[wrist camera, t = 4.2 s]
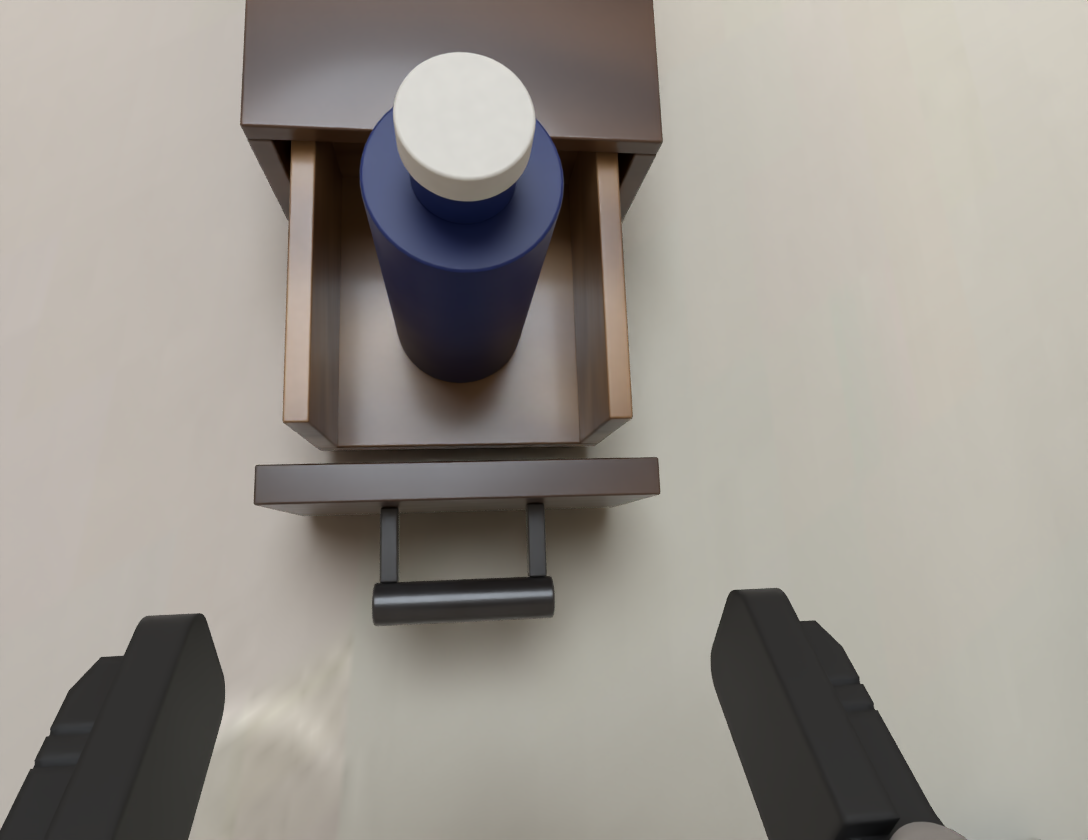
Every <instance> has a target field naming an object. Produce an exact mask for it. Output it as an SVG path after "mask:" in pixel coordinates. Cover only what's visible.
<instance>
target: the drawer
mask: <svg viewBox="0 0 1088 840" xmlns="http://www.w3.org/2000/svg"><path fill="white" fill-rule="evenodd" d="M365 144H366V143H347V142H320V141H294V140H291V166H290V198H289V230H288V262H287V294H286V326H285V358H284V390H283V423H285V424H286V425H287V426H289V427H290V428H291V429H293V430H294V431H295V432H297V433H298V434H299V435H301V436H302V437H303V438H305V439H306V440H307V441H309V442H310V443H311V444H313V445H314V446H315V447H317V448H318V449H320V450H322V451H332V450H391V449H450V448H509V447H568V446H595V445H597V444H598V443H599V442H601V441H602V440H603V439H605V438H606V437H607V436H609V435H610V434H611V433H613V432H614V431H615V430H617V429H618V428H619V427H621V426H622V425H624V424H625V423H626V422H628V421H629V420H630V419H632V417H633V412H632V395H631V378H630V361H629V344H628V326H627V309H626V292H625V275H624V258H623V240H622V223H621V206H620V189H619V172H618V155H617V153H612V152H585V151H559V150H557V152H558V154H559V157H560V160H561V165H562V169H563V177H564V191H563V199H562V204H561V208H560V212H559V215H558V218H557V221H556V224H555V228H554V231H553V234H552V237H551V240H550V244H549V247H548V250H547V253H546V256H545V260H544V263H543V266H542V269H541V272H540V276H539V279H538V282H537V285H536V288H535V292H534V295H533V298H532V301H531V304H530V308H529V311H528V314H527V317H526V320H525V324H524V327H523V330H522V333H521V336H520V340H519V342H518V345H517V348H516V350H515V352H514V353H513V355H512V356H511V358H510V359H509V361H508V362H507V363H506V364H505V365H504V366H503V367H502V368H500V369H499V370H498V371H497V372H495V373H493V374H492V375H490V376H488V377H486V378H483V379H481V380H477V381H473V382H467V383H455V382H447V381H443V380H440V379H437V378H434V377H432V376H430V375H428V374H426V373H425V372H423V371H422V370H421V369H419V368H418V367H417V366H416V365H415V364H414V363H413V362H412V361H411V360H410V359H409V358H408V356H407V355H406V353H405V351H404V350H403V348H402V345H401V343H400V340H399V337H398V334H397V330H396V326H395V322H394V318H393V314H392V310H391V307H390V303H389V299H388V295H387V291H386V287H385V283H384V279H383V276H382V272H381V268H380V264H379V260H378V256H377V252H376V248H375V245H374V241H373V237H372V233H371V229H370V225H369V221H368V218H367V214H366V210H365V206H364V202H363V198H362V194H361V188H360V163H361V157H362V153H363V150H364V146H365ZM659 494H660V479H659V463H658V458H657V457H644V458H592V459H540V460H488V461H436V462H384V463H332V464H280V465H256V466H255V483H254V505H257V506H261V507H266V508H270V509H275V510H279V511H283V512H288V513H292V514H296V515H301V516H321V515H357V514H380V582H381V583H376V584H375V585H374V588H373V597H372V617H373V623H374V625H375V626H392V625H412V624H433V623H454V622H474V621H495V620H515V619H536V618H551V617H553V615H554V611H555V593H554V584H553V580H552V577H550V576H546V575H547V570H546V541H545V513H544V509H568V508H603V507H615V506H619V505H622V504H626V503H630V502H633V501H637V500H641V499H644V498H648V497H652V496H655V495H659ZM497 510H526V531H527V564H528V576H530V577H511V578H486V579H461V580H437V581H412V582H398V581H399V513H427V512H462V511H497Z"/></svg>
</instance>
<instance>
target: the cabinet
mask: <svg viewBox="0 0 1088 840" xmlns="http://www.w3.org/2000/svg"><path fill="white" fill-rule="evenodd" d="M454 52H467V53H474V54H479V55H482V56H486V57H488V58H491V59H493V60H495V61H497V62H499V63H501V64H502V65H504V66H505V67H507V68H508V69H509V70H510V71H512V72H513V73H514V74H515V75H516V76H517V77H518V78H519V80H520V81H521V82H522V83H523V85H524V86H525V88H526V90H527V91H528V93H529V95H530V97H531V100H532V103H533V106H534V111H535V118H536V119H537V120H538V121H539V122H540V123H541V125H542V126H543V127H544V128H545V130H546V131H547V133H548V134H549V136H550V137H551V139H552V141H553V143H554V145H555V147H556V149H557V150H559V151H585V152H612V153H617V155H618V172H619V189H620V206H621V223H622V221H623V219H624V217H625V215H626V213H627V211H628V209H629V207H630V205H631V203H632V201H633V199H634V198H635V196H636V194H637V192H638V190H639V188H640V186H641V184H642V182H643V180H644V178H645V176H646V174H647V172H648V170H649V168H650V166H651V164H652V162H653V160H654V159H655V157H656V153H657V152H658V150H659V148H660V146H661V144H662V142H663V138H662V123H661V109H660V95H659V81H658V67H657V53H656V39H655V24H654V10H653V0H246V8H245V30H244V52H243V74H242V96H241V118H240V125H241V127H242V129H243V131H244V133H245V135H246V137H247V140H248V142H249V144H250V146H251V148H252V150H253V152H254V154H255V156H256V158H257V160H258V162H259V164H260V166H261V168H262V170H263V172H264V174H265V176H266V178H267V180H268V182H269V184H270V186H271V188H272V190H273V192H274V194H275V196H276V198H277V200H278V202H279V204H280V206H281V208H282V210H283V212H284V214H285V216H286V218H287V220H288V221H289V198H290V166H291V140H294V141H320V142H347V143H366V142H367V139H368V137H369V135H370V133H371V132H372V130H373V129H374V127H375V125H376V124H377V123H378V122H379V120H380V119H381V118H382V117H383V116H384V114H386V113H387V112H388V111H389V110H390V109H391V108H392V107H393V106H394V100H395V97H396V94H397V91H398V89H399V87H400V85H401V84H402V82H403V80H404V79H405V78H406V76H407V75H408V74H409V73H410V72H411V71H412V70H413V69H414V68H415V67H416V66H418V65H419V64H421V63H422V62H424V61H426V60H428V59H430V58H432V57H435V56H438V55H441V54H446V53H454Z"/></svg>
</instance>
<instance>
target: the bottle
mask: <svg viewBox="0 0 1088 840" xmlns="http://www.w3.org/2000/svg"><path fill="white" fill-rule="evenodd" d="M360 188H361V194H362V198H363V202H364V206H365V210H366V214H367V218H368V221H369V225H370V229H371V233H372V237H373V241H374V245H375V248H376V252H377V256H378V260H379V264H380V268H381V272H382V276H383V279H384V283H385V287H386V291H387V295H388V299H389V303H390V307H391V310H392V314H393V318H394V322H395V326H396V330H397V334H398V337H399V340H400V343H401V345H402V348H403V350H404V351H405V353H406V355H407V356H408V358H409V359H410V360H411V361H412V362H413V363H414V364H415V365H416V366H417V367H418V368H419V369H421V370H422V371H423V372H425V373H426V374H428V375H430V376H432V377H434V378H437V379H440V380H443V381H447V382H455V383H467V382H473V381H477V380H481V379H483V378H486V377H488V376H490V375H492V374H493V373H495V372H497V371H498V370H499V369H500V368H502V367H503V366H504V365H505V364H506V363H507V362H508V361H509V359H510V358H511V356H512V355H513V353H514V352H515V350H516V348H517V345H518V342H519V340H520V336H521V333H522V330H523V327H524V324H525V320H526V317H527V314H528V311H529V308H530V304H531V301H532V298H533V295H534V292H535V288H536V285H537V282H538V279H539V276H540V272H541V269H542V266H543V263H544V260H545V256H546V253H547V250H548V247H549V244H550V240H551V237H552V234H553V231H554V228H555V224H556V221H557V218H558V215H559V212H560V208H561V204H562V199H563V191H564V177H563V169H562V165H561V160H560V157H559V154H558V152H557V149H556V147H555V145H554V143H553V141H552V139H551V137H550V136H549V134H548V133H547V131H546V130H545V128H544V127H543V126H542V125H541V123H540V122H539V121H538V120H537V119H536V118H535V111H534V106H533V103H532V100H531V97H530V95H529V93H528V91H527V90H526V88H525V86H524V85H523V83H522V82H521V81H520V80H519V78H518V77H517V76H516V75H515V74H514V73H513V72H512V71H510V70H509V69H508V68H507V67H505V66H504V65H502V64H501V63H499V62H497V61H495V60H493V59H491V58H488V57H486V56H482V55H479V54H474V53H467V52H454V53H446V54H441V55H438V56H435V57H432V58H430V59H428V60H426V61H424V62H422V63H421V64H419V65H418V66H416V67H415V68H414V69H413V70H412V71H411V72H410V73H409V74H408V75H407V76H406V78H405V79H404V80H403V82H402V84H401V85H400V87H399V89H398V91H397V94H396V97H395V100H394V106H393V107H392V108H391V109H390V110H389V111H388V112H387V113H386V114H384V116H383V117H382V118H381V119H380V120H379V122H378V123H377V124H376V125H375V127H374V129H373V130H372V132H371V133H370V135H369V137H368V139H367V142H366V144H365V146H364V150H363V153H362V157H361V163H360Z"/></svg>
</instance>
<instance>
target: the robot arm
mask: <svg viewBox="0 0 1088 840" xmlns="http://www.w3.org/2000/svg"><path fill="white" fill-rule="evenodd" d="M711 673H712V679H713V683H714V687H715V690H716V693H717V696H718V699H719V702H720V704H721V707H722V710H723V713H724V716H725V718H726V721H727V724H728V727H729V730H730V732H731V735H732V738H733V741H734V744H735V747H736V749H737V752H738V755H739V758H740V761H741V763H742V766H743V769H744V772H745V775H746V777H747V780H748V783H749V786H750V789H751V791H752V794H753V797H754V800H755V803H756V805H757V808H758V811H759V814H760V817H761V820H762V822H763V825H764V828H765V831H766V834H767V836H768V839H769V840H967V839H966V838H965V837H963V836H962V835H960V834H958V833H957V832H955V831H953V830H951V829H949V828H947V827H945V826H944V825H943V823H942V822H941V821H940V819H939V818H938V817H937V815H936V814H935V812H934V811H933V809H932V807H931V806H930V804H929V802H928V800H927V799H926V797H925V795H924V793H923V791H922V790H921V788H920V786H919V784H918V782H917V781H916V779H915V777H914V775H913V773H912V772H911V770H910V768H909V766H908V764H907V763H906V761H905V759H904V757H903V755H902V754H901V752H900V750H899V748H898V746H897V745H896V743H895V741H894V739H893V737H892V736H891V734H890V732H889V730H888V728H887V726H886V725H885V723H884V721H883V719H882V717H881V716H880V714H879V712H878V710H875V709H874V703H873V701H872V699H871V698H870V696H869V694H868V692H867V690H866V689H865V687H864V685H863V684H860V681H859V676H858V674H857V672H856V671H855V669H854V667H853V665H852V663H851V662H850V660H849V658H848V656H847V654H846V652H845V651H844V649H843V647H842V646H841V645H840V644H839V643H838V642H837V641H836V640H835V639H834V638H833V637H832V636H831V635H830V634H829V633H828V632H827V631H825V630H824V629H823V628H822V627H821V626H820V625H819V624H818V623H817V622H816V621H799V619H798V617H797V615H796V613H795V611H794V609H793V607H792V605H791V603H790V601H789V599H788V598H787V596H786V595H785V593H784V592H783V591H782V590H781V589H779V588H766V589H745V590H733V591H731V592H730V593H729V595H728V598H727V601H726V604H725V607H724V610H723V614H722V617H721V620H720V623H719V627H718V630H717V633H716V637H715V640H714V643H713V646H712V650H711ZM224 703H225V681H224V675H223V672H222V669H221V665H220V662H219V659H218V656H217V653H216V649H215V646H214V643H213V640H212V636H211V633H210V630H209V627H208V624H207V621H206V618H205V617H204V615H203V614H200V613H199V614H178V615H156V616H146V617H144V618H143V619H142V620H141V621H140V622H139V624H138V626H137V627H136V629H135V632H134V634H133V636H132V639H131V641H130V643H129V645H128V648H127V650H126V652H125V654H124V656H113V657H101V658H100V659H99V660H98V661H97V662H96V663H95V664H94V665H93V666H92V667H91V668H90V669H89V670H88V671H87V672H86V673H85V674H84V675H83V677H82V678H81V679H80V680H79V681H78V682H77V683H76V684H75V685H74V686H73V687H72V688H71V689H70V690H69V692H68V694H67V696H66V698H65V700H64V702H63V704H62V706H61V708H60V710H59V712H58V714H57V716H56V718H55V720H54V722H53V724H52V726H51V728H50V730H51V732H50V735H49V736H48V737H46V738H45V740H44V742H43V745H42V747H41V749H40V751H39V753H38V755H37V757H36V759H35V766H34V768H33V769H30V771H29V773H28V775H27V777H26V779H25V781H24V783H23V785H22V787H21V789H20V791H19V793H18V795H17V797H16V799H15V801H14V804H13V806H12V808H11V810H10V812H9V814H8V816H7V818H6V820H5V822H4V824H3V826H2V828H1V830H0V840H188V838H189V834H190V831H191V827H192V824H193V820H194V816H195V813H196V809H197V806H198V802H199V799H200V795H201V791H202V788H203V784H204V781H205V777H206V774H207V770H208V767H209V763H210V759H211V756H212V752H213V749H214V745H215V742H216V738H217V734H218V731H219V727H220V724H221V720H222V716H223V711H224Z"/></svg>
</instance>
